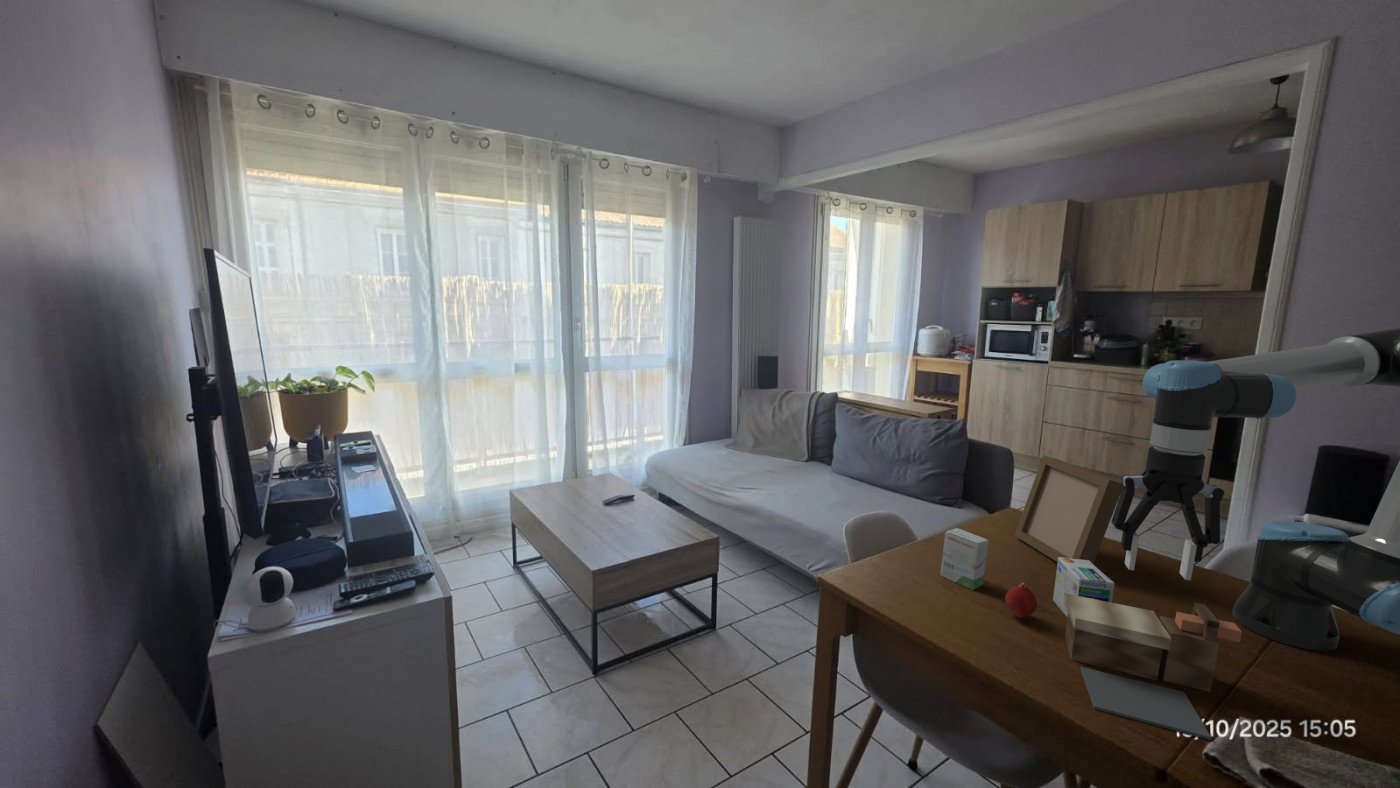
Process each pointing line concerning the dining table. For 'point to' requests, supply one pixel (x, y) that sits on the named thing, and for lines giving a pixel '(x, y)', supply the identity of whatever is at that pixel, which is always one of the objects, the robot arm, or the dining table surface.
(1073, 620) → the lid
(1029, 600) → the onion
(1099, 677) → the mat
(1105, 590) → the light bulb box
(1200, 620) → the orange rectangular block
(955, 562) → the ink box
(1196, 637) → the wooden box
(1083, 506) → the photo frame
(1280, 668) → the dining table surface
